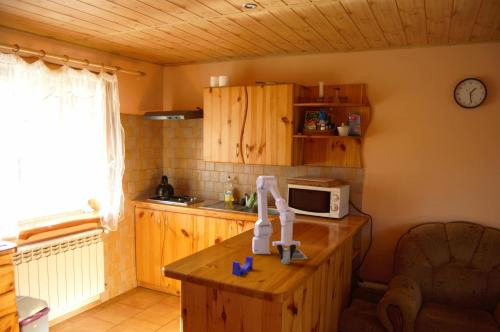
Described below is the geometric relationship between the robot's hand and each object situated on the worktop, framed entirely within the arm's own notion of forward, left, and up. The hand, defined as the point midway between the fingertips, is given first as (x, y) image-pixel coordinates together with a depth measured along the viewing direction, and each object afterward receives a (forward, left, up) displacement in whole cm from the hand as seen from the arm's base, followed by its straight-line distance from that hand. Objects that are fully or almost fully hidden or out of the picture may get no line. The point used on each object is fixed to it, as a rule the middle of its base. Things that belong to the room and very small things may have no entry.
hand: (285, 259), depth 207 cm
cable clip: (-24, -12, -2) cm, 27 cm away
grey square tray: (+7, +11, -2) cm, 13 cm away
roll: (0, 0, -2) cm, 2 cm away
